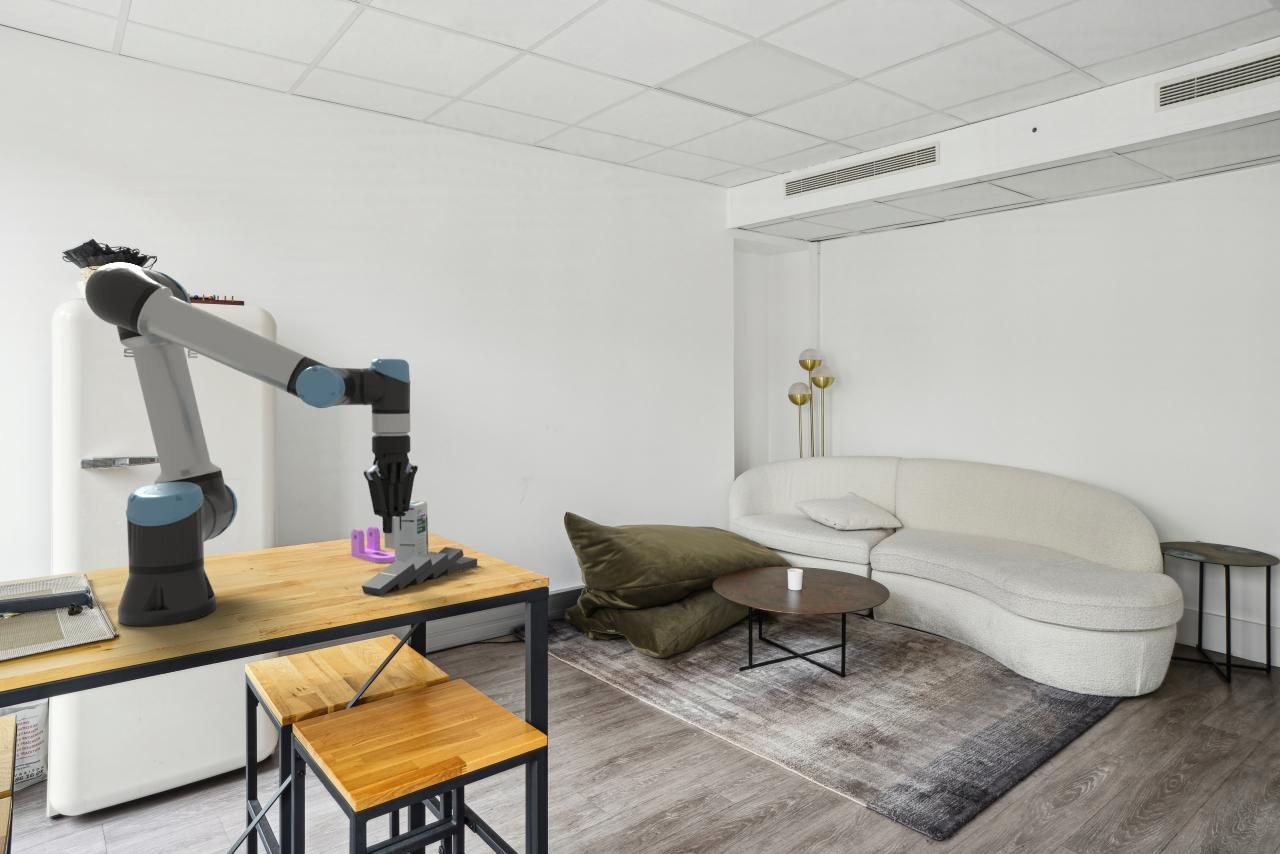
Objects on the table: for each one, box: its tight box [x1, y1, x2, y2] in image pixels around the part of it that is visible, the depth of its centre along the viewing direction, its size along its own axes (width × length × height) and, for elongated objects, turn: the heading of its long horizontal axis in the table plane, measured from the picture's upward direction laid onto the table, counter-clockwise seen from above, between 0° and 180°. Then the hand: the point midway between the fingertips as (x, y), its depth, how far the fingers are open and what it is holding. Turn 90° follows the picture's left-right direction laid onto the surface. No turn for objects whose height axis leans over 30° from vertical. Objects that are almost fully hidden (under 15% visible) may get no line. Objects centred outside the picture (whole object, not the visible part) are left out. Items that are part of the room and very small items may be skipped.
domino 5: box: [440, 556, 478, 576], centre depth 175 cm, size 5×2×10 cm
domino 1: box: [361, 561, 416, 596], centre depth 157 cm, size 5×2×10 cm
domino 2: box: [391, 556, 432, 591], centre depth 162 cm, size 5×2×10 cm
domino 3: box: [409, 551, 449, 585], centre depth 166 cm, size 5×2×10 cm
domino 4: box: [426, 546, 465, 579], centre depth 171 cm, size 5×2×10 cm
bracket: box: [350, 525, 395, 564], centre depth 185 cm, size 13×6×7 cm, turn 50°
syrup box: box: [394, 500, 429, 562], centre depth 179 cm, size 6×6×14 cm
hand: (392, 547), depth 158 cm, fingers closed
